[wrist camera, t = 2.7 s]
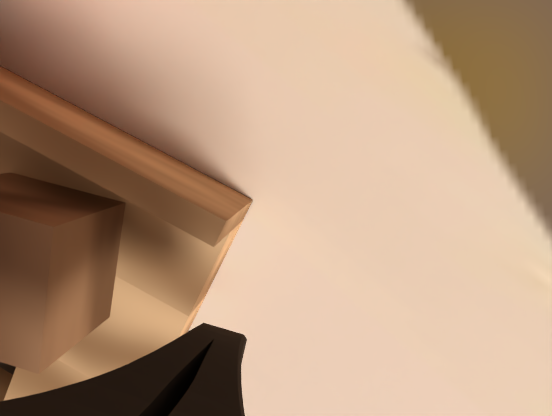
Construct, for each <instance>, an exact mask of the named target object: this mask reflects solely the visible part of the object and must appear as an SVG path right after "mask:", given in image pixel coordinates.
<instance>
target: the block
mask: <svg viewBox="0 0 552 416" xmlns="http://www.w3.org/2000/svg"><path fill="white" fill-rule="evenodd" d="M125 204H126V203H125V202H121V201H117V200H114V199H110V198H106V197H102V196H99V195H95V194H91V193H87V192H83V191H80V190H76V189H72V188H68V187H64V186H61V185H57V184H53V183H49V182H45V181H42V180H38V179H34V178H30V177H27V176H23V175H19V174H15V173H3V174H0V362H2V363H5V364H9V365H12V366H15V367H18V368H21V369H24V370H27V371H30V372H33V373H36V374H40V373H41V372H42V371H44V370H45V369H46V368H47V367H49V366H50V365H51V364H52V363H54V362H55V361H56V360H57V359H59V358H60V357H61V356H62V355H63V354H65V353H66V352H67V351H68V350H70V349H71V348H72V347H73V346H75V345H76V344H77V343H78V342H80V341H81V340H82V339H83V338H84V337H86V336H87V335H88V334H89V333H91V332H92V331H93V330H94V329H96V328H97V327H98V326H99V325H100V324H102V323H103V322H104V321H105V320H107V319H108V318H109V317H110V311H111V304H112V297H113V290H114V283H115V276H116V268H117V261H118V254H119V247H120V240H121V233H122V225H123V218H124V211H125Z"/></svg>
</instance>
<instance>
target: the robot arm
mask: <svg viewBox="0 0 552 416" xmlns="http://www.w3.org/2000/svg"><path fill="white" fill-rule="evenodd" d="M246 341H247V339H246V337H245V336H244V335H243V334H240V333H236V332H233V331H229V330H226V329H223V328H219V327H216V326H213V325H209V324H206V323H203V324H201V325H199V326H197V327H195V328H194V329H192V330H190V331H189V332H187V333H185V334H184V335H182V336H180V337H178V338H177V339H175V340H173V341H172V342H170V343H168V344H166V345H164V346H162V347H161V348H159V349H157V350H155V351H153V352H151V353H149V354H147V355H145V356H143V357H141V358H139V359H137V360H135V361H133V362H131V363H129V364H126V365H124V366H122V367H119V368H117V369H115V370H112V371H110V372H107V373H104V374H101V375H99V376H96V377H93V378H90V379H87V380H84V381H81V382H77V383H74V384H71V385H67V386H64V387H60V388H57V389H53V390H50V391H46V392H42V393H38V394H33V395H29V396H25V397H20V398H15V399H10V400H5V401H0V416H245V414H244V407H243V399H242V387H241V362H242V358H243V354H244V349H245V345H246Z"/></svg>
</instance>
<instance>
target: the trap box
mask: <svg viewBox="0 0 552 416" xmlns="http://www.w3.org/2000/svg"><path fill="white" fill-rule="evenodd" d="M3 173H15V174H19V175H23V176H27V177H30V178H34V179H38V180H42V181H45V182H49V183H53V184H57V185H61V186H64V187H68V188H72V189H76V190H80V191H83V192H87V193H91V194H95V195H99V196H102V197H106V198H110V199H114V200H117V201H121V202H125V203H126V204H125V211H124V218H123V225H122V233H121V240H120V247H119V254H118V261H117V268H116V276H115V283H114V290H113V297H112V304H111V311H110V317H109V318H108V319H107V320H105V321H104V322H103V323H102V324H100V325H99V326H98V327H97V328H96V329H94V330H93V331H92V332H91V333H89V334H88V335H87V336H86V337H84V338H83V339H82V340H81V341H80V342H78V343H77V344H76V345H75V346H73V347H72V348H71V349H70V350H68V351H67V352H66V353H65V354H63V355H62V356H61V357H60V358H59V359H57V360H56V361H55V362H54V363H52V364H51V365H50V366H49V367H47V368H46V369H45V370H44V371H42V372H41V373H40V374H36V373H33V372H30V371H27V370H24V369H21V368H18V367H15V366H12V365H9V364H5V363H2V362H0V401H5V400H10V399H15V398H20V397H25V396H29V395H33V394H38V393H42V392H46V391H50V390H53V389H57V388H60V387H64V386H67V385H71V384H74V383H77V382H81V381H84V380H87V379H90V378H93V377H96V376H99V375H101V374H104V373H107V372H110V371H112V370H115V369H117V368H119V367H122V366H124V365H126V364H129V363H131V362H133V361H135V360H137V359H139V358H141V357H143V356H145V355H147V354H149V353H151V352H153V351H155V350H157V349H159V348H161V347H162V346H164V345H166V344H168V343H170V342H172V341H173V340H175V339H177V338H178V337H180V336H182V335H184V334H185V333H187V332H188V330H189V328H190V326H191V324H192V322H193V320H194V318H195V316H196V314H197V312H198V310H199V308H200V306H201V304H202V302H203V300H204V298H205V296H206V294H207V292H208V290H209V288H210V286H211V284H212V282H213V280H214V278H215V276H216V274H217V271H218V269H219V267H220V265H221V263H222V261H223V259H224V257H225V255H226V253H227V251H228V249H229V247H230V245H231V243H232V241H233V239H234V237H235V235H236V233H237V231H238V229H239V227H240V225H241V223H242V221H243V219H244V217H245V215H246V213H247V211H248V209H249V207H250V205H251V203H252V201H253V200H252V199H250V198H248V197H246V196H244V195H242V194H240V193H239V192H237V191H235V190H233V189H231V188H229V187H227V186H225V185H223V184H222V183H220V182H218V181H216V180H214V179H212V178H210V177H208V176H206V175H205V174H203V173H201V172H199V171H197V170H195V169H193V168H191V167H190V166H188V165H186V164H184V163H182V162H180V161H178V160H176V159H174V158H173V157H171V156H169V155H167V154H165V153H163V152H161V151H159V150H157V149H156V148H154V147H152V146H150V145H148V144H146V143H144V142H142V141H141V140H139V139H137V138H135V137H133V136H131V135H129V134H127V133H125V132H124V131H122V130H120V129H118V128H116V127H114V126H112V125H110V124H108V123H107V122H105V121H103V120H101V119H99V118H97V117H95V116H93V115H92V114H90V113H88V112H86V111H84V110H82V109H80V108H78V107H76V106H75V105H73V104H71V103H69V102H67V101H65V100H63V99H61V98H59V97H58V96H56V95H54V94H52V93H50V92H48V91H46V90H44V89H43V88H41V87H39V86H37V85H35V84H33V83H31V82H29V81H27V80H26V79H24V78H22V77H20V76H18V75H16V74H14V73H12V72H10V71H9V70H7V69H5V68H3V67H1V66H0V174H3Z"/></svg>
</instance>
